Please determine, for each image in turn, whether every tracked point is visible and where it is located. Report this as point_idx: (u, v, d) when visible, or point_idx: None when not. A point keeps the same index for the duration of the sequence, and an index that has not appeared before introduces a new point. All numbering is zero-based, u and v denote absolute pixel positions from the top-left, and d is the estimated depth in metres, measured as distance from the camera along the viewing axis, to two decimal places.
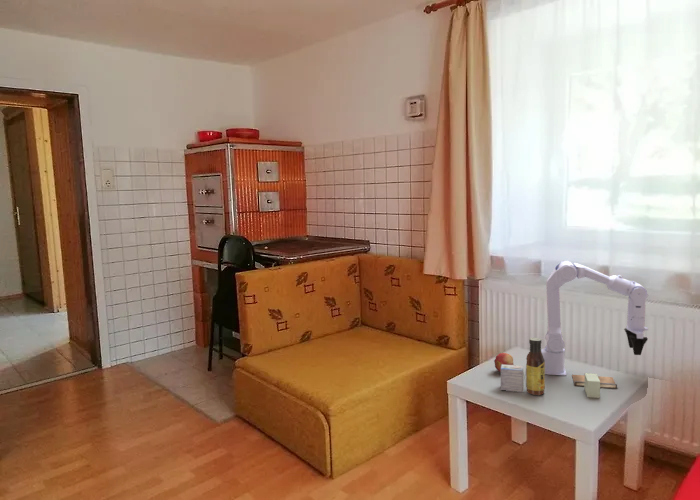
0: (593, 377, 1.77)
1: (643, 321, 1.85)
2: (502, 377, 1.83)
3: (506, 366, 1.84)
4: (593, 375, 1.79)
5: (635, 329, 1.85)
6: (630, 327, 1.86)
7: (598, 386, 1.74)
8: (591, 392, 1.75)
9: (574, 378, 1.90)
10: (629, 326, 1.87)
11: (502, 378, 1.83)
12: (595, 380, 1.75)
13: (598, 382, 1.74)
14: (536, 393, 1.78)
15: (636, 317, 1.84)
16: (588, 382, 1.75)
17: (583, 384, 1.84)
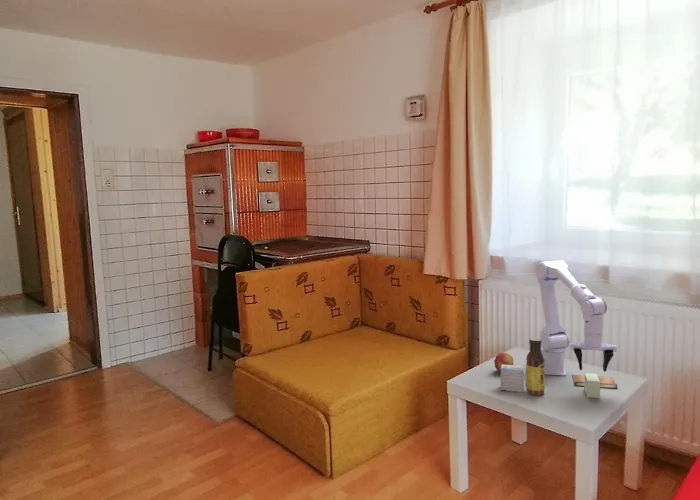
0: (593, 377, 1.77)
1: (588, 338, 1.74)
2: (502, 377, 1.83)
3: (506, 366, 1.84)
4: (593, 375, 1.79)
5: (583, 343, 1.78)
6: None
7: (598, 386, 1.74)
8: (591, 392, 1.75)
9: (574, 378, 1.90)
10: None
11: (502, 378, 1.83)
12: (595, 380, 1.75)
13: (598, 382, 1.74)
14: (536, 393, 1.78)
15: (585, 332, 1.75)
16: (588, 382, 1.75)
17: (583, 384, 1.84)
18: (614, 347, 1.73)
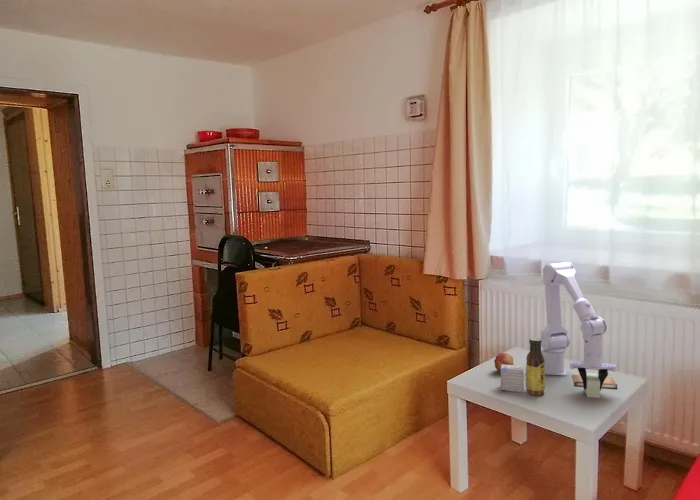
0: (593, 377, 1.77)
1: (587, 357, 1.75)
2: (502, 377, 1.83)
3: (506, 366, 1.84)
4: (593, 375, 1.79)
5: (583, 362, 1.79)
6: None
7: (598, 386, 1.74)
8: (591, 392, 1.75)
9: (574, 378, 1.90)
10: None
11: (502, 378, 1.83)
12: (595, 380, 1.75)
13: (598, 382, 1.74)
14: (536, 393, 1.78)
15: (585, 352, 1.76)
16: (588, 382, 1.75)
17: None
18: (613, 367, 1.74)
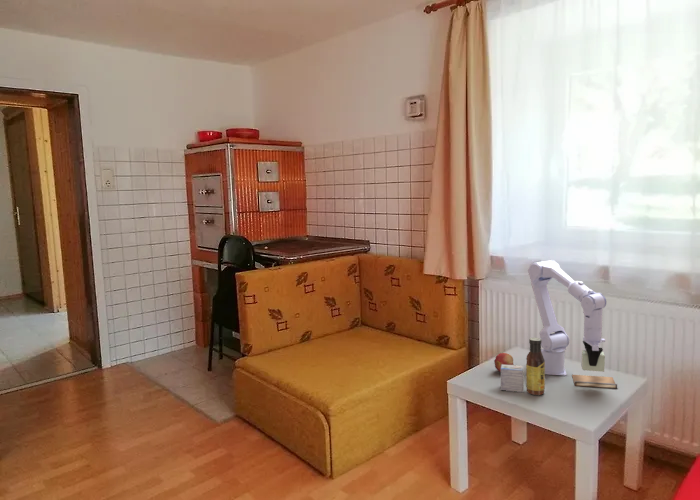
0: None
1: (599, 332, 1.77)
2: (502, 377, 1.83)
3: (506, 366, 1.84)
4: None
5: (591, 341, 1.78)
6: (586, 338, 1.79)
7: None
8: None
9: (574, 378, 1.90)
10: (585, 337, 1.79)
11: (502, 378, 1.83)
12: (602, 352, 1.80)
13: (603, 353, 1.81)
14: (536, 393, 1.78)
15: (586, 327, 1.79)
16: (604, 356, 1.78)
17: (583, 384, 1.84)
18: None
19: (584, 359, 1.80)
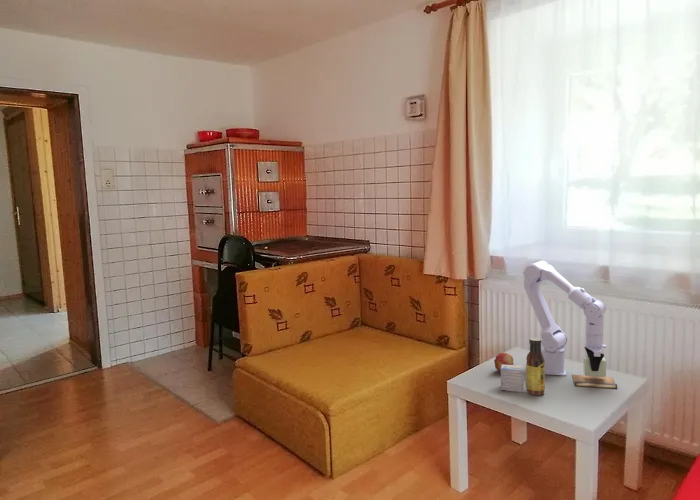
0: None
1: (601, 339, 1.83)
2: (502, 377, 1.83)
3: (506, 366, 1.84)
4: None
5: (593, 347, 1.84)
6: (588, 344, 1.85)
7: None
8: None
9: (574, 378, 1.90)
10: (587, 343, 1.86)
11: (502, 378, 1.83)
12: (603, 358, 1.87)
13: (604, 358, 1.87)
14: (536, 393, 1.78)
15: (590, 334, 1.84)
16: None
17: (583, 384, 1.84)
18: None
19: (586, 365, 1.86)
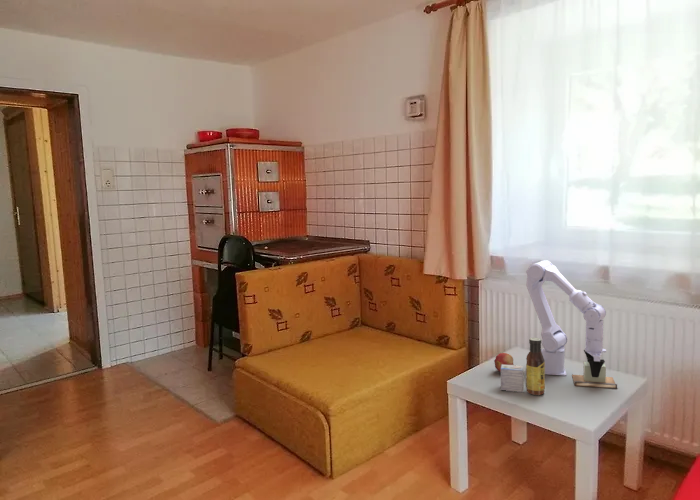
0: None
1: (601, 343, 1.84)
2: (502, 377, 1.83)
3: (506, 366, 1.84)
4: (588, 363, 1.89)
5: (593, 351, 1.84)
6: (588, 349, 1.85)
7: None
8: None
9: (574, 378, 1.90)
10: (587, 348, 1.86)
11: (502, 378, 1.83)
12: (603, 364, 1.87)
13: (604, 364, 1.88)
14: (536, 393, 1.78)
15: (590, 339, 1.84)
16: (605, 368, 1.85)
17: (583, 384, 1.84)
18: None
19: (586, 370, 1.87)
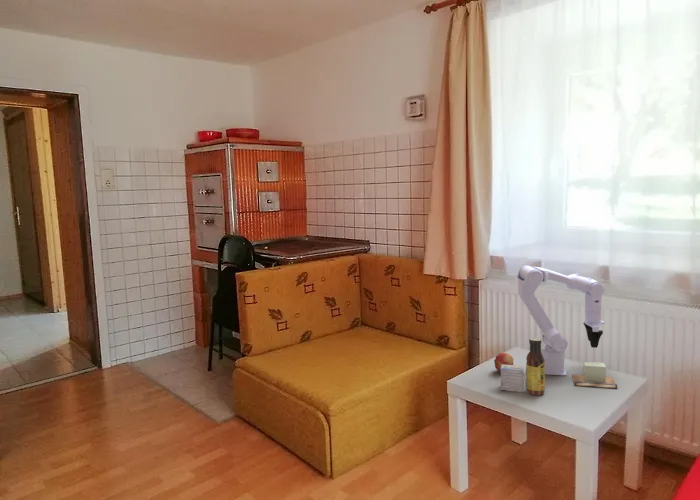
0: (595, 364, 1.87)
1: (599, 315, 1.94)
2: (502, 377, 1.83)
3: (506, 366, 1.84)
4: (588, 363, 1.89)
5: (592, 323, 1.94)
6: (587, 321, 1.95)
7: None
8: None
9: (574, 378, 1.90)
10: (586, 320, 1.96)
11: (502, 378, 1.83)
12: (603, 364, 1.87)
13: (604, 364, 1.88)
14: (536, 393, 1.78)
15: (595, 311, 1.93)
16: (605, 368, 1.85)
17: (583, 384, 1.84)
18: None
19: (586, 370, 1.87)
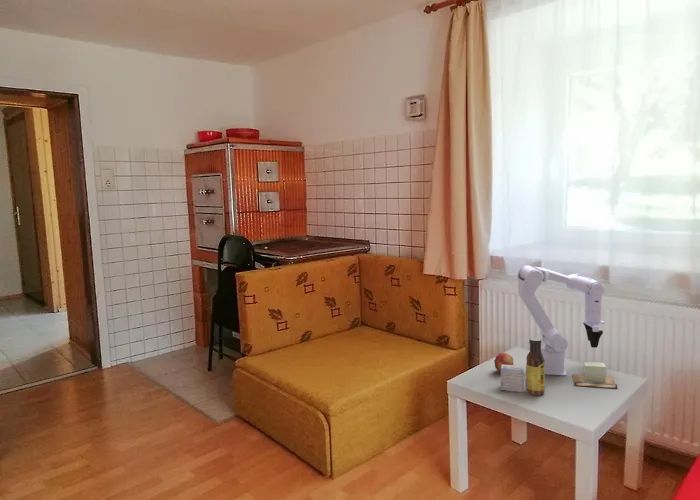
0: (595, 364, 1.87)
1: (599, 315, 1.94)
2: (502, 377, 1.83)
3: (506, 366, 1.84)
4: (588, 363, 1.89)
5: (592, 323, 1.94)
6: (587, 321, 1.95)
7: None
8: None
9: (574, 378, 1.90)
10: (586, 320, 1.96)
11: (502, 378, 1.83)
12: (603, 364, 1.87)
13: (604, 364, 1.88)
14: (536, 393, 1.78)
15: (595, 311, 1.93)
16: (605, 368, 1.85)
17: (583, 384, 1.84)
18: None
19: (586, 370, 1.87)
